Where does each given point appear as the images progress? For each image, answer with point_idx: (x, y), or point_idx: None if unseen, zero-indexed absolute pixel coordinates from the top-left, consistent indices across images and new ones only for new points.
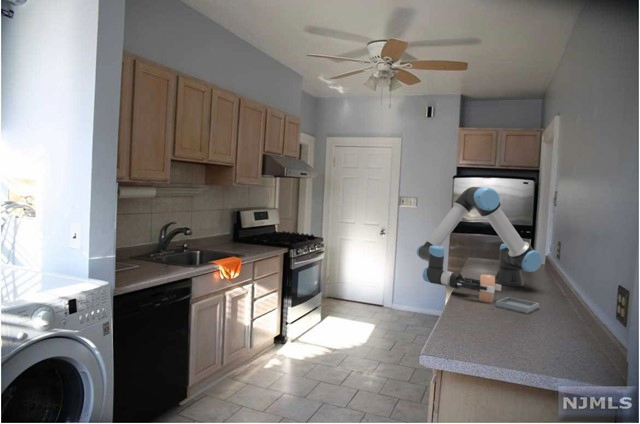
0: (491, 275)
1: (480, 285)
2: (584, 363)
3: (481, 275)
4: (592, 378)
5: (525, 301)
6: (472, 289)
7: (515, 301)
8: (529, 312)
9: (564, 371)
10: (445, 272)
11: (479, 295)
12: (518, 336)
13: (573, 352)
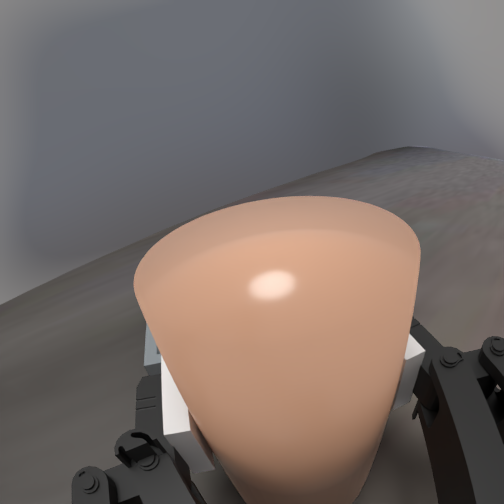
0: (176, 250)
1: (391, 404)
2: (408, 156)
3: (415, 254)
4: (426, 149)
5: None
6: (501, 406)
7: None
8: None
9: (446, 154)
10: None
11: (368, 473)
12: (453, 185)
13: (396, 163)
